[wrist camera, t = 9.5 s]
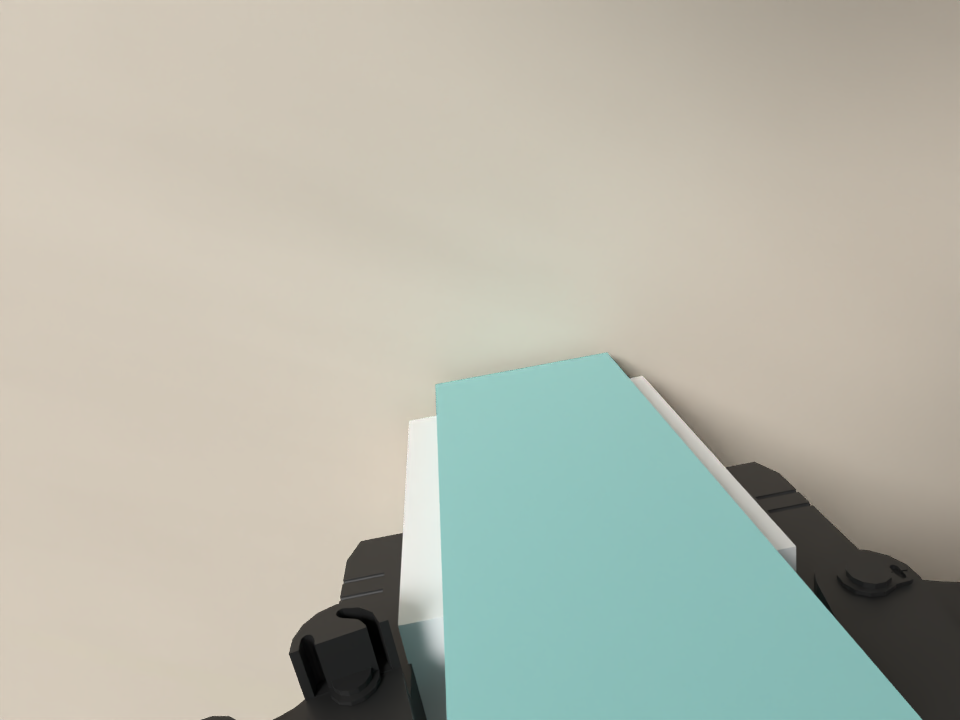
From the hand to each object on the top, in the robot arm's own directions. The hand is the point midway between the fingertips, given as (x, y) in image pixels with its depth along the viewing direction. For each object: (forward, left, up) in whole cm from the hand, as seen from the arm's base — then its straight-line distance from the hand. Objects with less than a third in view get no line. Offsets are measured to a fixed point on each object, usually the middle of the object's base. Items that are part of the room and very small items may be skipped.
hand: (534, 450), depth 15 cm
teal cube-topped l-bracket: (+9, +3, 0) cm, 10 cm away
